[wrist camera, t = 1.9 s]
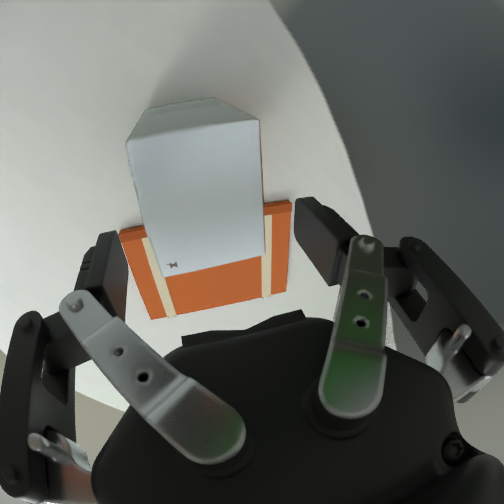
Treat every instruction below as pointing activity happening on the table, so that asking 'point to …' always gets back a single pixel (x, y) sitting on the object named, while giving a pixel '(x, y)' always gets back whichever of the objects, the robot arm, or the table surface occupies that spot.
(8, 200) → the table surface
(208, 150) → the small box
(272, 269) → the towel
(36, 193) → the table surface
